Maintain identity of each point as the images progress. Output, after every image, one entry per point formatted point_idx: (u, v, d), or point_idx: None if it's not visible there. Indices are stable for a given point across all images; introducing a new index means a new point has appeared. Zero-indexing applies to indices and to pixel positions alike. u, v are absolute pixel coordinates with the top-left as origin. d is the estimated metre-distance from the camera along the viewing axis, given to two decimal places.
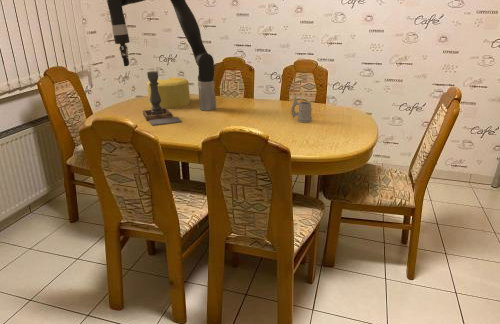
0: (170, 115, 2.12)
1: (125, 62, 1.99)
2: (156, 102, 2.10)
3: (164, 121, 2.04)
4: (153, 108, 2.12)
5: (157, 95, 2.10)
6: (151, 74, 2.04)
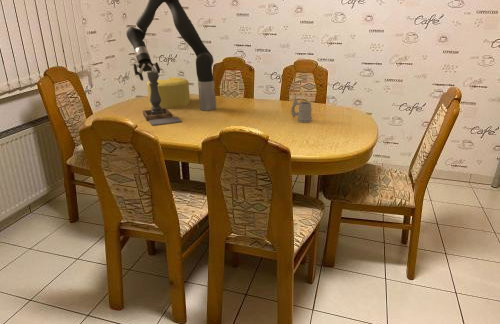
0: (170, 115, 2.12)
1: None
2: (156, 102, 2.10)
3: (164, 121, 2.04)
4: (153, 108, 2.12)
5: (157, 95, 2.10)
6: (151, 74, 2.04)
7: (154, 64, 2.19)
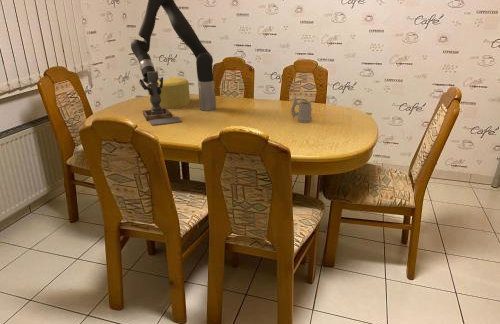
0: (170, 115, 2.12)
1: (149, 92, 2.09)
2: (156, 102, 2.10)
3: (164, 121, 2.04)
4: (153, 108, 2.12)
5: (157, 95, 2.10)
6: (151, 74, 2.04)
7: (159, 78, 2.14)
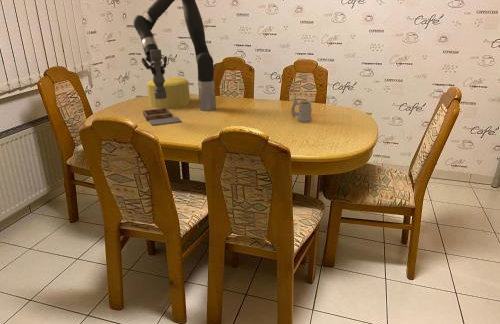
0: (170, 115, 2.12)
1: (151, 71, 1.96)
2: (159, 82, 1.98)
3: (164, 121, 2.04)
4: (156, 89, 2.00)
5: (160, 75, 1.97)
6: (154, 52, 1.92)
7: (163, 57, 2.02)
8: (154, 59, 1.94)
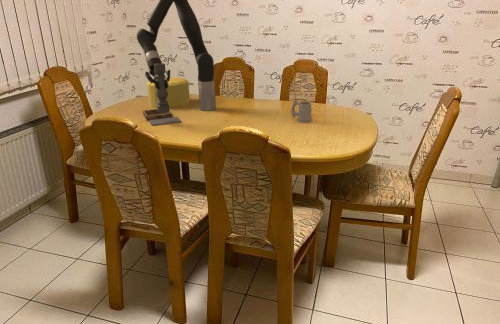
0: (170, 115, 2.12)
1: (155, 85, 1.96)
2: (163, 96, 1.98)
3: (164, 121, 2.04)
4: (159, 102, 2.00)
5: (164, 89, 1.97)
6: (158, 66, 1.92)
7: (166, 71, 2.02)
8: (158, 73, 1.94)
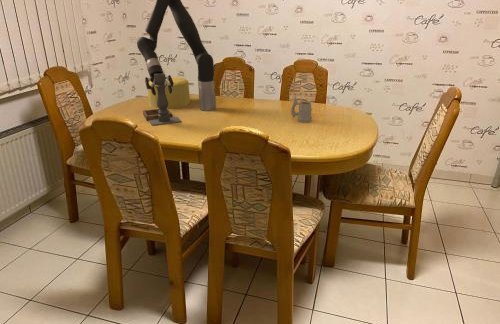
0: (170, 115, 2.12)
1: (152, 91, 1.97)
2: (163, 106, 2.00)
3: None
4: (160, 112, 2.01)
5: (164, 98, 1.99)
6: (158, 76, 1.94)
7: (167, 77, 2.03)
8: (158, 83, 1.96)
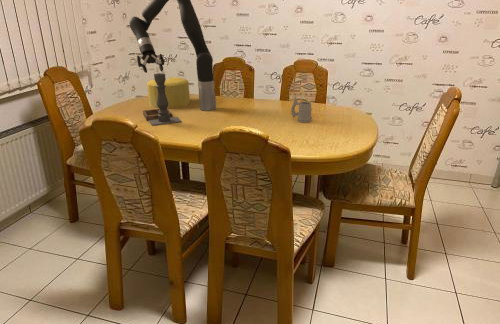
0: (170, 115, 2.12)
1: (143, 69, 2.04)
2: (163, 106, 2.00)
3: None
4: (160, 112, 2.01)
5: (164, 98, 1.99)
6: (158, 76, 1.94)
7: (158, 56, 2.10)
8: (158, 83, 1.96)
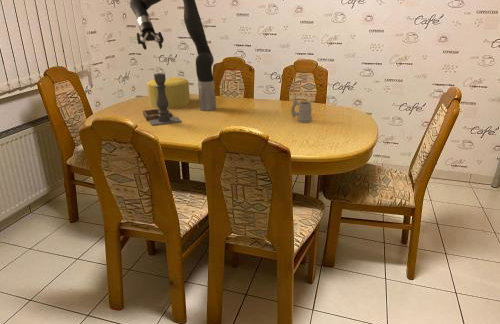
0: (170, 115, 2.12)
1: (143, 46, 2.09)
2: (163, 106, 2.00)
3: None
4: (160, 112, 2.02)
5: (164, 98, 1.99)
6: (158, 76, 1.94)
7: (157, 34, 2.15)
8: (158, 83, 1.96)
